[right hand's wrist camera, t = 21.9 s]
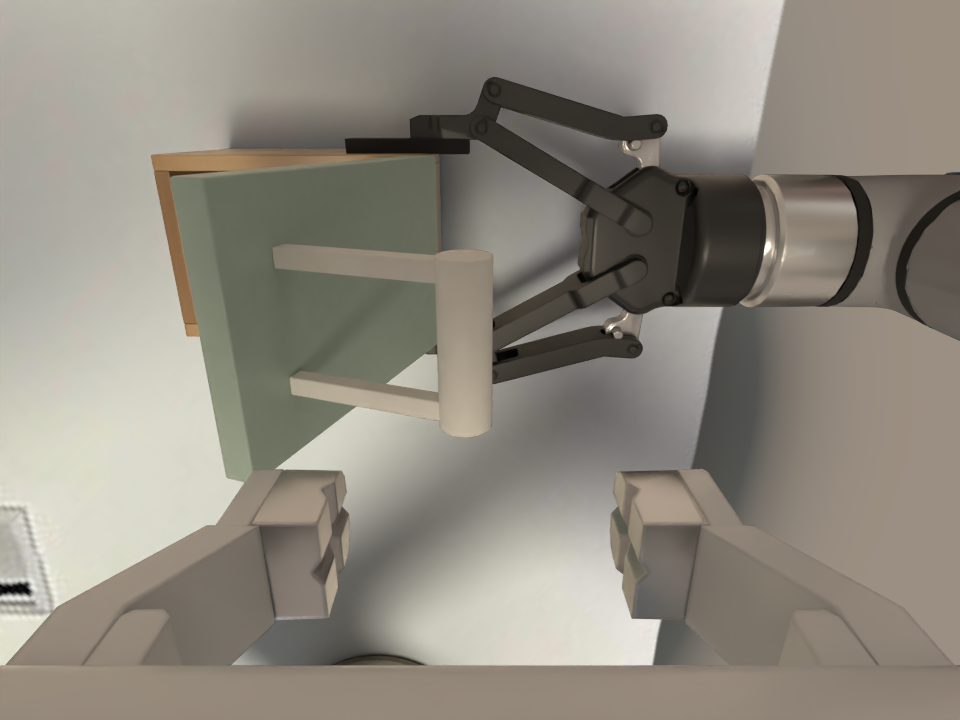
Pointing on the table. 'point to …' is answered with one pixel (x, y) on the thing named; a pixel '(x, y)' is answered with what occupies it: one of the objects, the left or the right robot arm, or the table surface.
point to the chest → (234, 161)
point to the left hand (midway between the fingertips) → (358, 241)
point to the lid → (330, 302)
